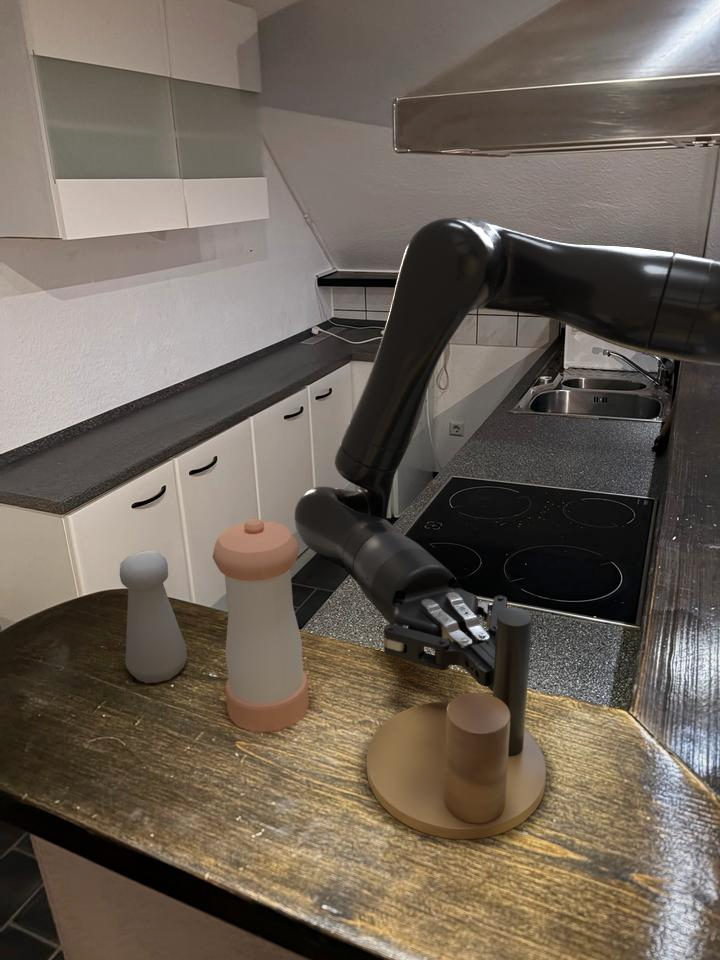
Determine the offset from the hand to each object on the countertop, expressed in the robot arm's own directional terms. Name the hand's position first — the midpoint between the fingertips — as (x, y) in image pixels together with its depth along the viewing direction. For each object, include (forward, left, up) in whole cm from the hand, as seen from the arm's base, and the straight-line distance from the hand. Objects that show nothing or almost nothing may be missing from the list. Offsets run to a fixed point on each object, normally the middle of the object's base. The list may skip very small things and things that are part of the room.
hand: (502, 679), depth 60 cm
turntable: (+5, +1, -6) cm, 8 cm away
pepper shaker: (+16, -13, -8) cm, 22 cm away
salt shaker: (+24, -23, -8) cm, 34 cm away
